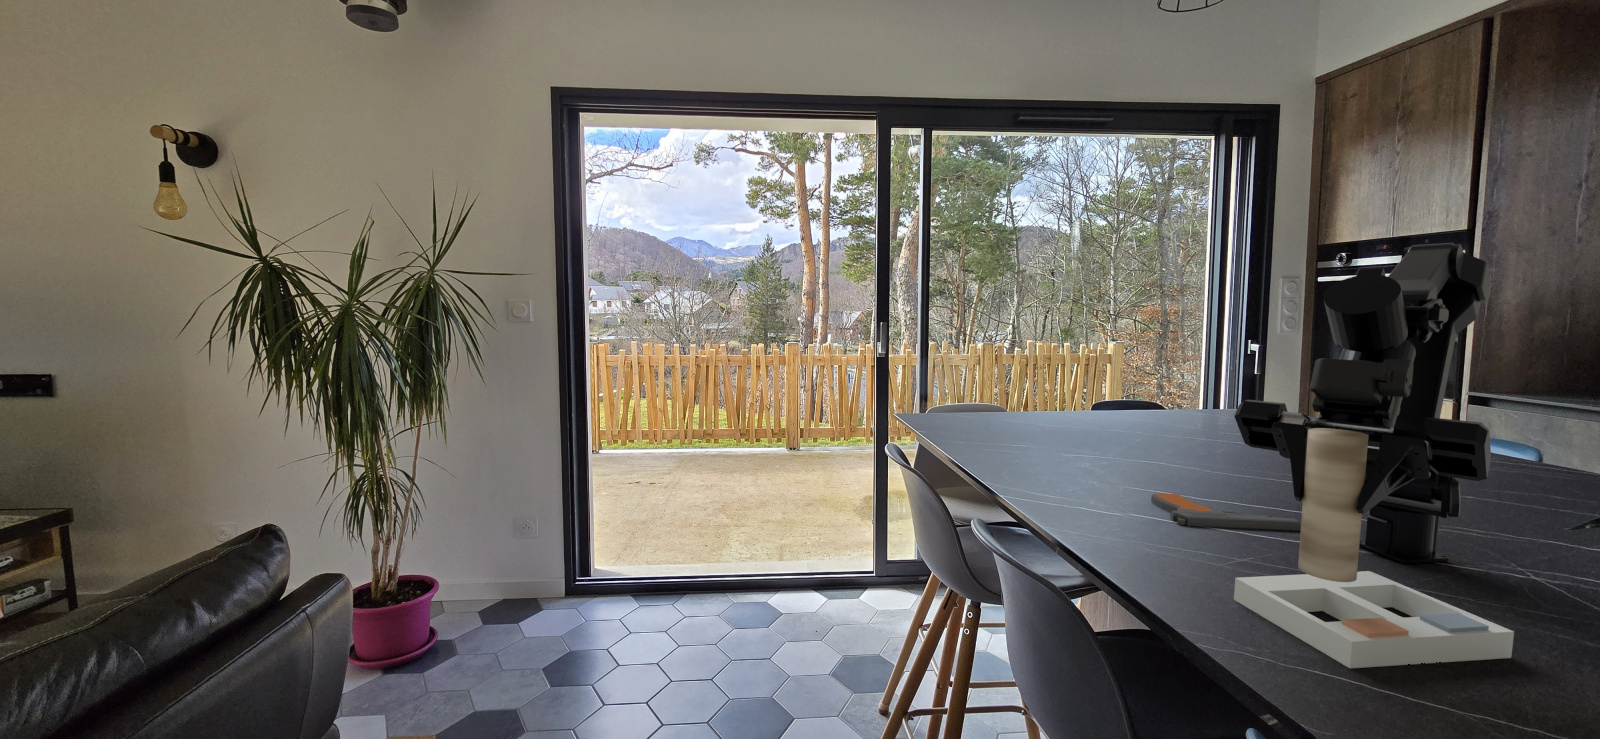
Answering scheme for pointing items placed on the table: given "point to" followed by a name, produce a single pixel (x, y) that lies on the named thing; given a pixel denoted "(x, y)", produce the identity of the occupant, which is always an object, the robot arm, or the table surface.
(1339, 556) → the plug
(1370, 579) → the socket board
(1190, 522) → the orange-tipped hinged bar
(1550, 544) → the table surface
